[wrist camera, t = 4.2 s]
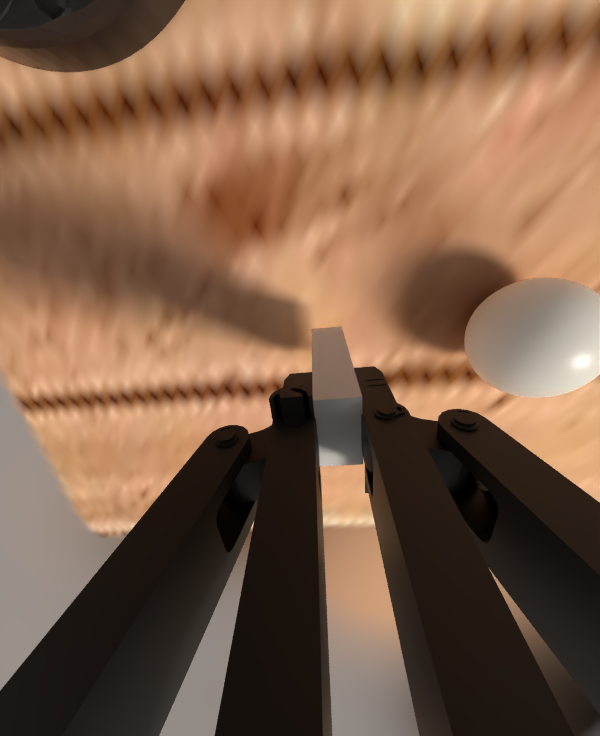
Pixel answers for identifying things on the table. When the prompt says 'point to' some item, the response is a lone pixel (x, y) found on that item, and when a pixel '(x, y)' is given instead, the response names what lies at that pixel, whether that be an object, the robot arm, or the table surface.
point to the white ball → (536, 337)
